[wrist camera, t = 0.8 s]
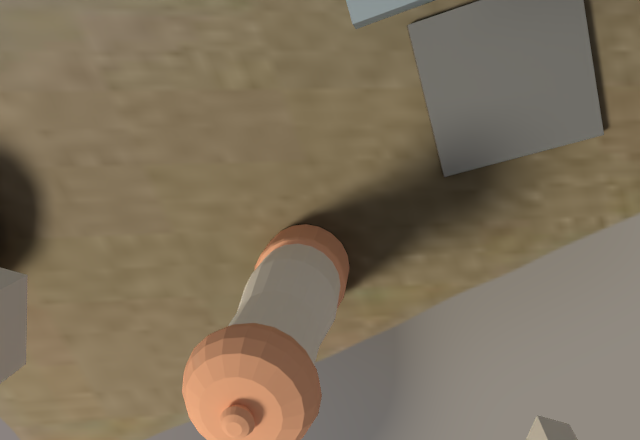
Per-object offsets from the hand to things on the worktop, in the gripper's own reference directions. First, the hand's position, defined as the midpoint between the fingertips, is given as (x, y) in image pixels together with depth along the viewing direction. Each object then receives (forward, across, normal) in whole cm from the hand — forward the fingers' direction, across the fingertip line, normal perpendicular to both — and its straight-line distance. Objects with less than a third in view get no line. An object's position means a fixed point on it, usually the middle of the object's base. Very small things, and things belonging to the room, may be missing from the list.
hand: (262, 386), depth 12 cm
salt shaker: (+26, -2, -8) cm, 27 cm away
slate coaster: (+26, +9, +10) cm, 29 cm away
